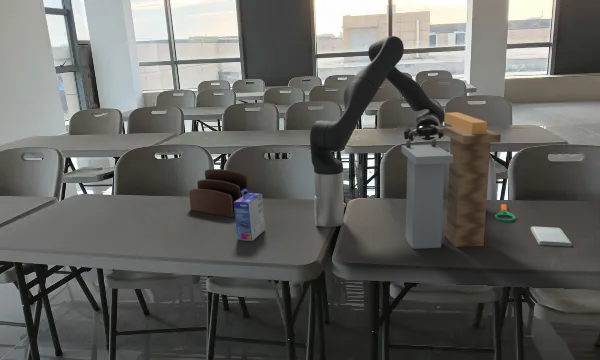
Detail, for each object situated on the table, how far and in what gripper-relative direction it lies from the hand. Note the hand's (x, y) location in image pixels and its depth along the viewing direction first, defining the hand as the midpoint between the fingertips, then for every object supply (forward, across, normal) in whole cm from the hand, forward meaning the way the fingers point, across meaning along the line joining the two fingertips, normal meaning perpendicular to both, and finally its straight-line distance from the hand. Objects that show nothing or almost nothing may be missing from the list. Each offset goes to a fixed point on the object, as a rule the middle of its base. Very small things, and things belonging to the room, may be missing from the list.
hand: (425, 136), depth 153 cm
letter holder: (+6, -74, +19) cm, 76 cm away
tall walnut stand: (+18, +10, +28) cm, 35 cm away
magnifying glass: (-9, +22, +31) cm, 39 cm away
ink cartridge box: (+27, -52, +21) cm, 63 cm away
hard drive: (+10, +33, +31) cm, 47 cm away
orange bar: (+12, +12, -4) cm, 17 cm away
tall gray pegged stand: (+22, -2, +26) cm, 34 cm away
